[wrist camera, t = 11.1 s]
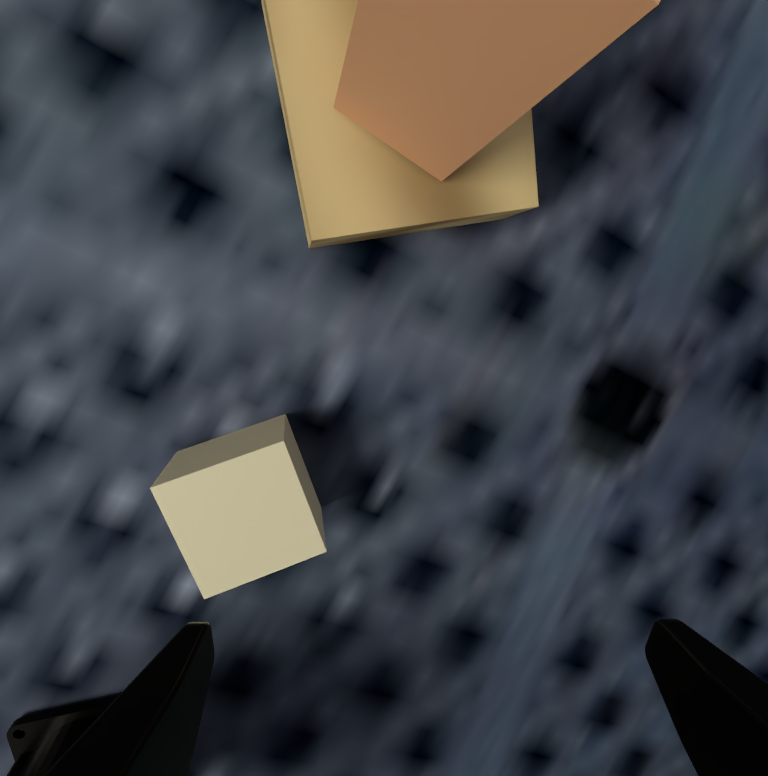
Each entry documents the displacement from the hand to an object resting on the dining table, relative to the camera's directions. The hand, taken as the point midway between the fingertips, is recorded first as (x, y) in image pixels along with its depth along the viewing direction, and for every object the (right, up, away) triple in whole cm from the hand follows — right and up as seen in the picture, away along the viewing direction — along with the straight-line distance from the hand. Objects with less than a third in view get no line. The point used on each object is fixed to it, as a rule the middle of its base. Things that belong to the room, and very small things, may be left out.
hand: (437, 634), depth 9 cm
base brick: (-1, +16, +10) cm, 19 cm away
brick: (-7, +1, +12) cm, 14 cm away
